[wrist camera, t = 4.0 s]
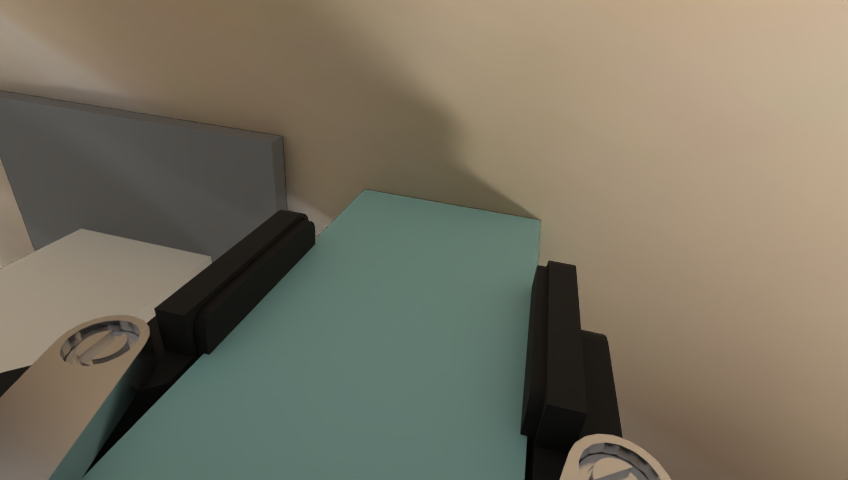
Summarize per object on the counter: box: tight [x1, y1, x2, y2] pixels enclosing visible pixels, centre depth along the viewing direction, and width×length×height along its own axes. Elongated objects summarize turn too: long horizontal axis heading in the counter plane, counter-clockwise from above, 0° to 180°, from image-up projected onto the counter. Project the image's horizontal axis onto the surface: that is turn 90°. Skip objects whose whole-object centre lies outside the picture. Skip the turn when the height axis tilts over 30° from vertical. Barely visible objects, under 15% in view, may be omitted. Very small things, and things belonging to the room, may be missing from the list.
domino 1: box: [0, 229, 212, 373], centre depth 12 cm, size 5×2×10 cm, turn 85°
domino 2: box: [81, 189, 541, 480], centre depth 9 cm, size 5×2×10 cm, turn 85°
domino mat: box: [0, 91, 287, 263], centre depth 21 cm, size 10×30×1 cm, turn 175°
